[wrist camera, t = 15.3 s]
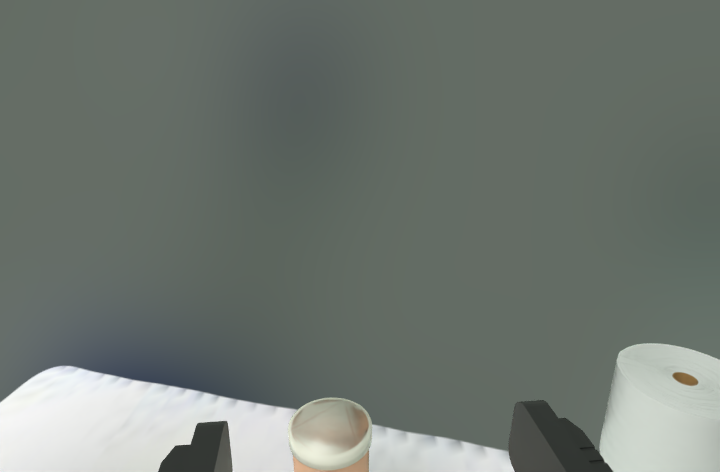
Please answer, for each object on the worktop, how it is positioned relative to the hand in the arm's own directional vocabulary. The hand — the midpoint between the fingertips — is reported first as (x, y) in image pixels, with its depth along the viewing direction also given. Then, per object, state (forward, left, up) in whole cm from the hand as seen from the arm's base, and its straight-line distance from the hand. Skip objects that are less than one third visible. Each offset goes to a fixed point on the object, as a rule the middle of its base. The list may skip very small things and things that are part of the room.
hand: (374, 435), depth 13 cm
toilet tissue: (+27, +25, -26) cm, 45 cm away
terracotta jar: (-3, +14, -24) cm, 28 cm away
